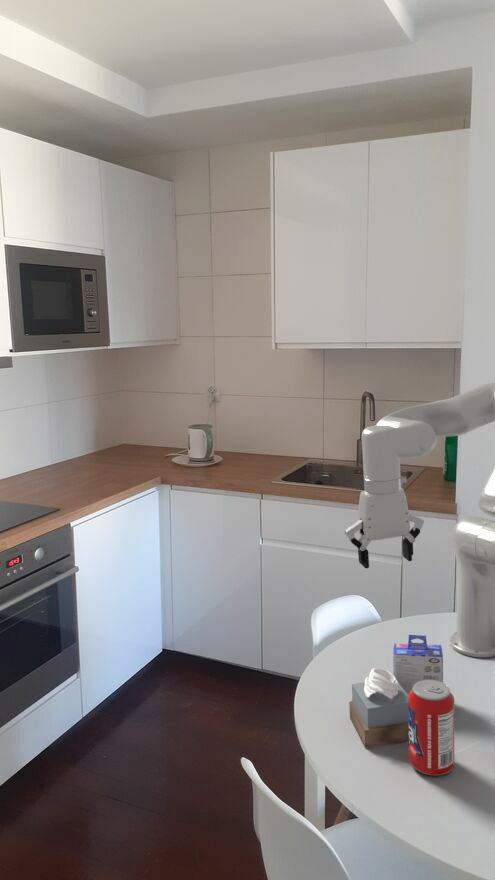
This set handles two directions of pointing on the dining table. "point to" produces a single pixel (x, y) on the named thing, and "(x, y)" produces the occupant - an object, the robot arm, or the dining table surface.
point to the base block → (378, 731)
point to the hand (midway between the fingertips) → (386, 562)
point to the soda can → (431, 727)
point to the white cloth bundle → (381, 683)
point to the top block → (380, 707)
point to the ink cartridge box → (417, 662)
